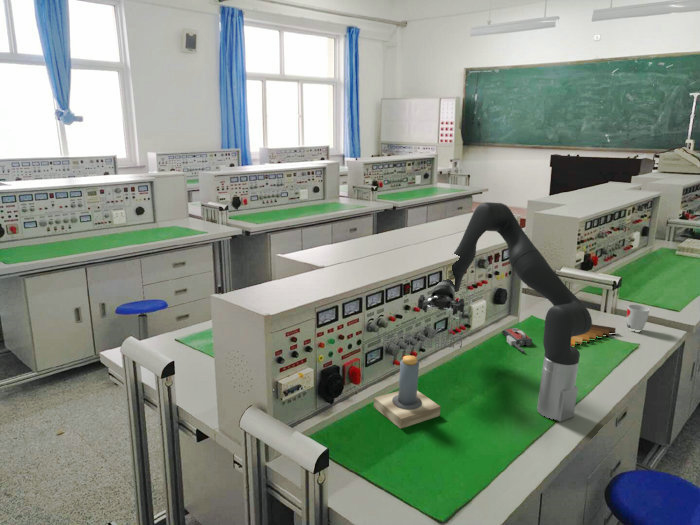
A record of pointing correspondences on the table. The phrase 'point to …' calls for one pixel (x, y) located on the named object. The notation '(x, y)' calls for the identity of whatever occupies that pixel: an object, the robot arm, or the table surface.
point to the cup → (637, 316)
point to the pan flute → (592, 334)
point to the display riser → (406, 409)
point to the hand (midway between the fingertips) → (439, 310)
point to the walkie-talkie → (517, 338)
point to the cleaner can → (408, 380)
